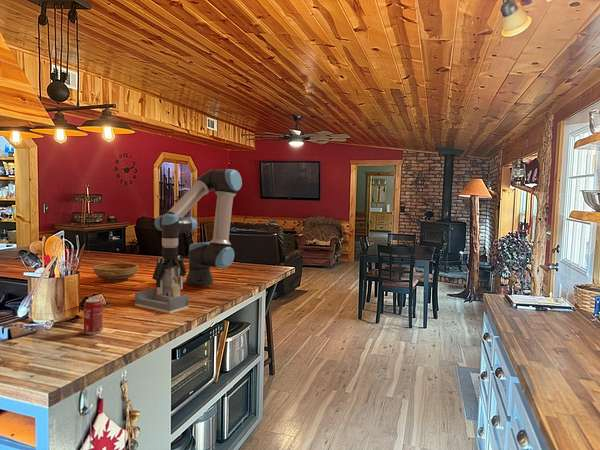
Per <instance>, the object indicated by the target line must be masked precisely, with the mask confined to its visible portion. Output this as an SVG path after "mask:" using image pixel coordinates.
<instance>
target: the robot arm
mask: <svg viewBox="0 0 600 450" xmlns="http://www.w3.org/2000/svg"><path fill="white" fill-rule="evenodd" d="M242 180H243V179H242V176H241V174H240V172H239V171H238V170H236V169H230V168H224V169H223V168H221V169H219V168H218V169H216V168H215V169H210V170H208V171H206V172H204V173H203V174H201V175H200V176H198V177H197V179H196V180H195V181H193V185H192V186H191V188H189V189H188V190H187V191H186V193H185V194H184V195H182V197H181V198H179V200H178V201H177V202H176V203H175V204H174V205H173V206H172V207H171V208H170V209H169V210H168V211H167V212H166V213H164V214H163V215H159V216H157V217H155V219H154V227H155V228H156V230H158V231H161V246H162V247H161V255H162V258H157V260H156V265H155V268H154V272H153V275H152V280H155V287H156V289H157V294H159V295H160V294H162V280H161V279H162V277H163V275H164V273H165V268H168V267H170V266H179V265H180V290H183V283H184V277H185V276H186V275H187V276H186V278H185V284H186V285H188V286H192V287H193V286H194V287H203V286H204V287H205V286H210V285H213V284H214V279H213V275H212V271H211V268H217V269H227V268H228V267H230V266H231V264H232V263H233V262H234V259H235V251H234V248H232V247H231V246H232V243H231V242H230V231H231V230H230V229H231V222H232V221H231V220H232V214H233V213H232V212H233V211H232V209H233V203H234V202H233V201H234V197H236V195H237V192H238V191H240V190H241V188H242V186H243V181H242ZM213 191H214V193H215V195H216V196H217V198H216V204H215V205H216V206H215V215H214V225H213V233H212V239H211V240H210V241H205V242H204V241H203V242H197V243H196V242H194V243H191V244H190V245H188V247H189V248H188V271H187V269H186V266H185V263H184V260H183V259H184V258H183V255H179V247H178V246H179V234H184V233H185V234H188V233H194V232H196V230H197V228H198V221H197V219H196V218H195V217H190V216H186V215H187V214H188V212H190V210H191V209H192V208H193V207H194V206H195V205H196V204H197V203H198V202H199V201H200V200H201V198H202V197H204V196H206V195H208V194H209V193H210V192H213ZM185 216H186V217H185ZM161 268H163V269H161Z"/></svg>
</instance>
